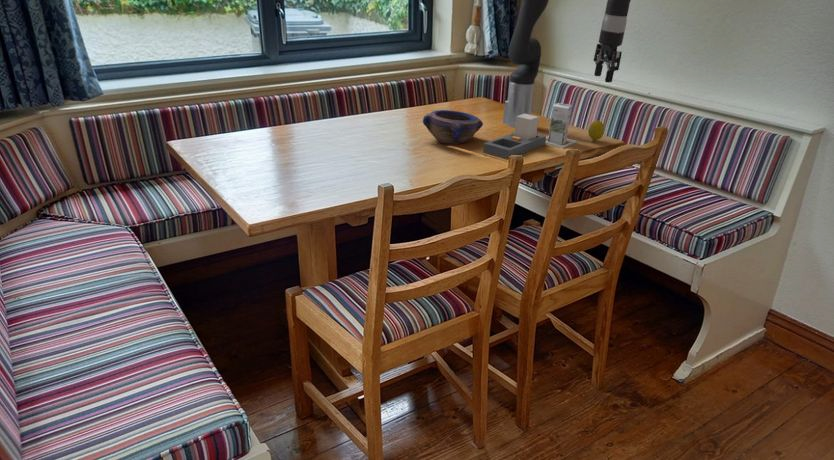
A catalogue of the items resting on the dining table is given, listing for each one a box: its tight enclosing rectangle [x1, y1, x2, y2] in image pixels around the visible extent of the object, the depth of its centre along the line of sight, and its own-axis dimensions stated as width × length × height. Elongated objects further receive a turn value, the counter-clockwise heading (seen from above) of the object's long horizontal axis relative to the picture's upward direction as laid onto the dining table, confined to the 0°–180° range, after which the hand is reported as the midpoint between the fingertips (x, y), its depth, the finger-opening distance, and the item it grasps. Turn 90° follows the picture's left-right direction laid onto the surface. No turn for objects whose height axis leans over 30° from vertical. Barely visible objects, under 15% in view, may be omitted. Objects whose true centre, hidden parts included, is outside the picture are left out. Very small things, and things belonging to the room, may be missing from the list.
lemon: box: [587, 119, 605, 142], centre depth 225 cm, size 6×6×8 cm
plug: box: [513, 114, 539, 141], centre depth 213 cm, size 6×6×10 cm
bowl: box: [422, 109, 484, 146], centre depth 216 cm, size 18×18×10 cm
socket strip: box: [482, 131, 547, 163], centre depth 210 cm, size 10×24×5 cm, turn 140°
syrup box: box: [547, 102, 573, 146], centre depth 217 cm, size 6×6×14 cm
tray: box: [545, 135, 578, 149], centre depth 220 cm, size 10×10×2 cm
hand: (602, 79), depth 207 cm, fingers open, 8 cm apart
